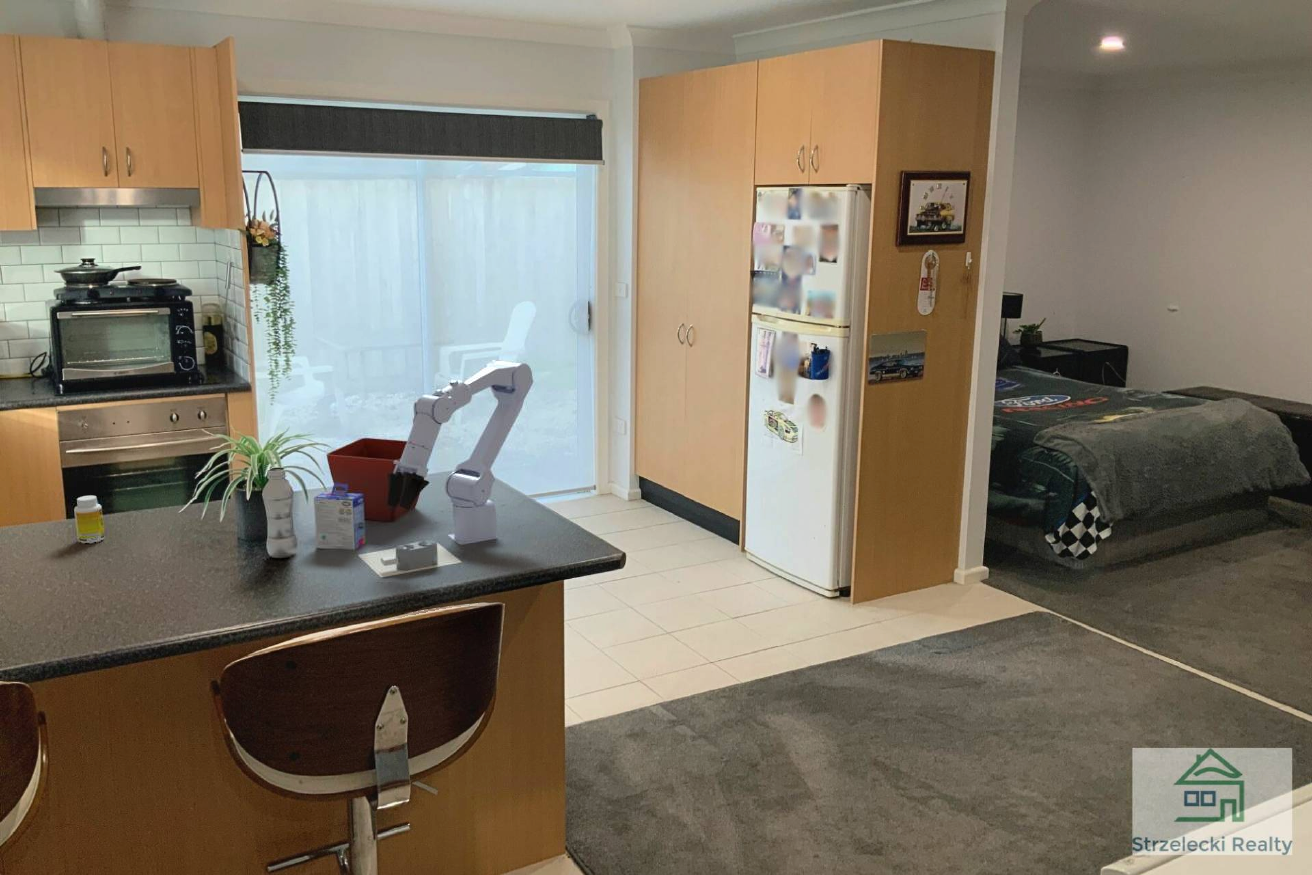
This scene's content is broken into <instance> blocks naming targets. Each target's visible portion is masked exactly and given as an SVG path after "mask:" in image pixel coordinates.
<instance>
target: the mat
mask: <svg viewBox="0 0 1312 875" xmlns="http://www.w3.org/2000/svg"><path fill="white" fill-rule="evenodd" d="M434 541H435V542H437V541H436V540H434ZM437 553H438V564H437V565H434V566H430V567H424V568H419V569H414V570H408V571H401V570H398V569H397V568H396V564H393V565H388V566H384V565H383V564H382V563H381V557H385V556H391V555H395V556H396V547H395V548H390V549H384V550H378V551H373V552H367V553H360V554H357V555H358V557H359V558H360V559H361V560H362V561H363V562H364V563H365V564H366V565H368V567H370V568H371V570H372V571H374V573H375V574H376V575H378V577H380V578H386V577H391V576H396V575H397V576H398V575H401V574H408V573H412V572H418V571H425V570H429V569H434V568H439V567H445V566H451V565H455V564H461V563H463V561H461V560H460V559H459V558H457V557H456V556H455V555H454V554H453V553H451V552H450V551H448V549H446V548H445V547H444V546H443V545H441V544H440V543H438V542H437Z"/></svg>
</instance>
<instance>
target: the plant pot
mask: <svg viewBox="0 0 1312 875" xmlns="http://www.w3.org/2000/svg"><path fill="white" fill-rule="evenodd" d="M406 443H407V440H399V439H387V438H372V437H363V438H358V439H357V440H355V441H353V442H350V443H348V444H346V445H343V446H341V447H339V448H337V449H335V450H332V451H330V452H328V453H326V459H327V464H328V469H329V472H330V476H331V479H332V482H333V484H334V483H338V484H348V490H347V493H353V494H363V501H364V520H370V521H371V520H372V521H379V522H381V521H382V522H395V521H397V520H398V519H400V518H402V517H403V516H405V515H406V514H408V513H410V512H412V511H413V510H415V508H416V506H417V503H418V501H419V498H420V495H421V492H420V493H419V495H418V496H417V498H416V499H415V501H414V502H413V504H412V506H411V507H410V508H409V510H408V509H405V508H402V507H400V506H399V504H398V506H397V507H396V508H394V507H391V506H389V505H387V496H388V476H387V474H388V472H391V473H393V472H394V469H395V467H396V464H394V461H395V460H396V461H400V459H401V457H402V454H403V451H404V449H405V446H406ZM426 468H428V466H427V467H426ZM394 474H395V473H394ZM423 478H424V479H425V477H423ZM335 490H343V491H344V490H345V488H343V487H336V488H335Z"/></svg>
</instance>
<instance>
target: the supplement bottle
mask: <svg viewBox="0 0 1312 875" xmlns="http://www.w3.org/2000/svg"><path fill="white" fill-rule="evenodd" d="M76 503H77V506H75V507H74V509H73V510H74V520H75V521H74V522H75V528H76V536H77V537H76V538H77V541H78V542H79V543H80V542H81V543H80V544H85V543H89V544H95V543H94V542H96V543H98V542H101V540H102V541H103V540H104V539H105V537H106V533H105V525H104V516H103V508H102V505H101V504H99V503H98V498H97V496H96V495H83V496H80V497H78V498H76Z"/></svg>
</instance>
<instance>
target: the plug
mask: <svg viewBox="0 0 1312 875" xmlns="http://www.w3.org/2000/svg"><path fill="white" fill-rule="evenodd" d="M435 541H436V540H424V541H423V540H422V541H416V542H411V543H405V544H404V543H403V544H399V545H397V546H395V548H396V556H395V555H391V556H385V557H381V563H382V564H383V565H384V566H388V565H393V564H396V568H397V569H398V570H401V571H408V570H414V569H419V568H424V567H430V566H434V565H437V564H438V553H437V543H438V542H437V541H436V542H435Z"/></svg>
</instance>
